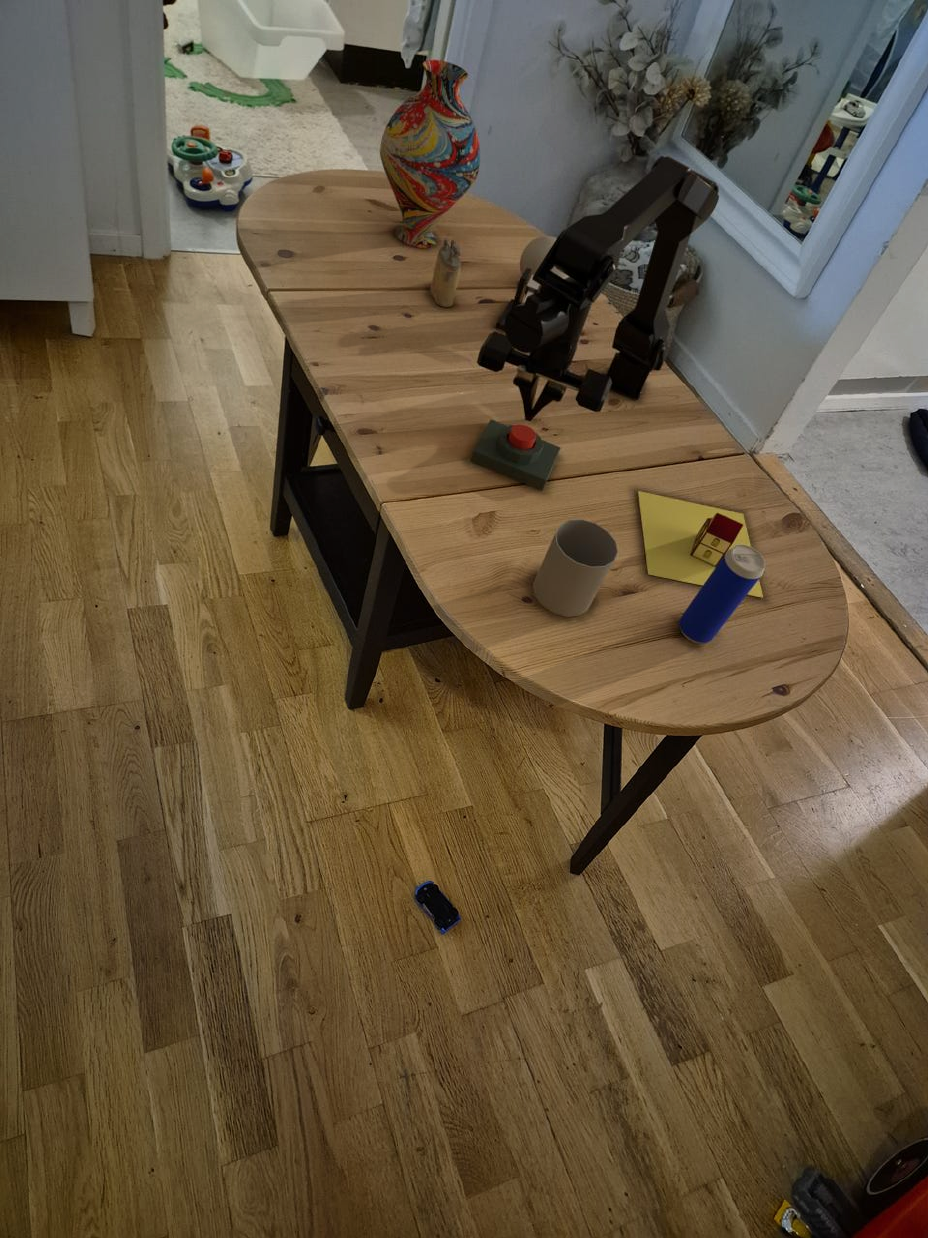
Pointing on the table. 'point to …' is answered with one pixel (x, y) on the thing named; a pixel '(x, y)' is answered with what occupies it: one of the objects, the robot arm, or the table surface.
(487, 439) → the button box
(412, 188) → the vase
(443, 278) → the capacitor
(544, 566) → the cup
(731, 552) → the beverage can
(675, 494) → the table surface
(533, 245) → the ball
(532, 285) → the lever
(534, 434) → the button
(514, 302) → the tap bracket
